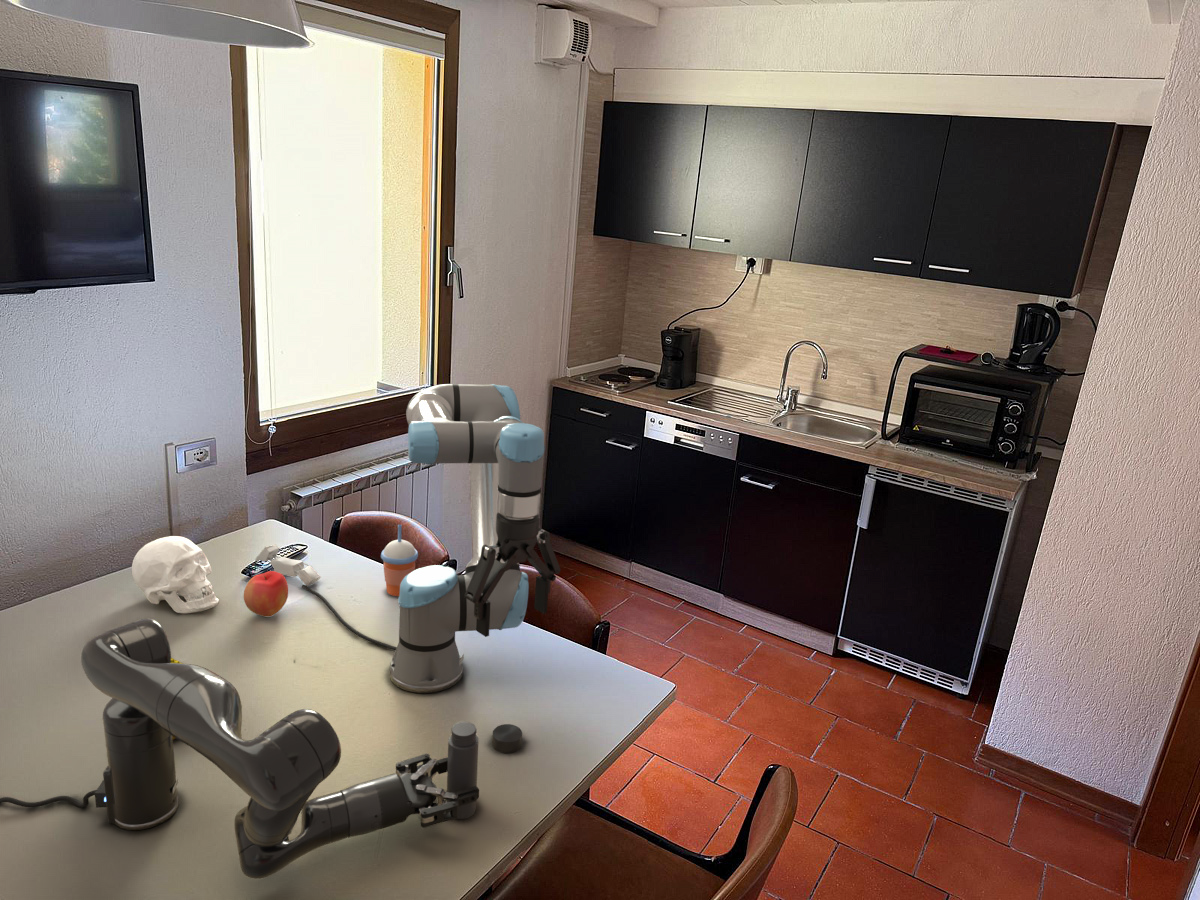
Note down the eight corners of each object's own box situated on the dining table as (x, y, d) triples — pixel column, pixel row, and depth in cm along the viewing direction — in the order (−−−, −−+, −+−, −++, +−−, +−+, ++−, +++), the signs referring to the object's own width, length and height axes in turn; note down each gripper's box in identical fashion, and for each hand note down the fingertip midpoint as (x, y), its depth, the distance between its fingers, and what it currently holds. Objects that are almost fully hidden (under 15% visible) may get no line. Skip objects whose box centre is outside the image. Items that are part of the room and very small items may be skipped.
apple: (273, 600, 207) (272, 562, 204) (297, 613, 202) (296, 575, 199) (237, 614, 200) (234, 575, 197) (261, 628, 194) (259, 588, 191)
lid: (488, 749, 160) (488, 739, 159) (497, 732, 165) (497, 721, 164) (516, 755, 159) (517, 744, 158) (525, 737, 164) (525, 727, 164)
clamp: (253, 565, 223) (254, 542, 221) (265, 560, 226) (266, 537, 224) (309, 593, 215) (310, 569, 213) (320, 588, 218) (321, 564, 216)
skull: (197, 623, 194) (195, 558, 190) (119, 603, 200) (115, 540, 196) (237, 600, 207) (236, 539, 203) (163, 582, 212) (160, 522, 208)
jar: (481, 811, 144) (484, 731, 140) (456, 823, 141) (458, 741, 136) (465, 795, 148) (468, 716, 143) (440, 806, 145) (442, 726, 140)
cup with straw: (408, 601, 212) (409, 534, 207) (374, 595, 213) (374, 529, 208) (423, 586, 220) (424, 521, 215) (390, 580, 222) (390, 516, 217)
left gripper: (386, 814, 128) (486, 783, 136) (359, 758, 140) (453, 733, 148) (386, 855, 130) (484, 822, 139) (359, 797, 142) (452, 770, 150)
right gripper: (556, 492, 160) (549, 594, 166) (446, 521, 142) (443, 634, 149) (584, 504, 155) (576, 609, 161) (473, 536, 137) (469, 652, 144)
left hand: (468, 776), depth 143 cm, fingers open, 8 cm apart
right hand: (512, 621), depth 155 cm, fingers open, 13 cm apart
